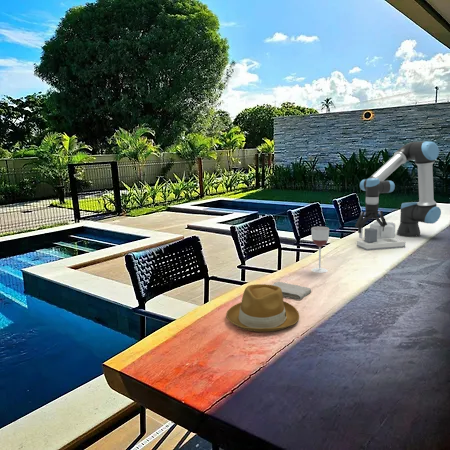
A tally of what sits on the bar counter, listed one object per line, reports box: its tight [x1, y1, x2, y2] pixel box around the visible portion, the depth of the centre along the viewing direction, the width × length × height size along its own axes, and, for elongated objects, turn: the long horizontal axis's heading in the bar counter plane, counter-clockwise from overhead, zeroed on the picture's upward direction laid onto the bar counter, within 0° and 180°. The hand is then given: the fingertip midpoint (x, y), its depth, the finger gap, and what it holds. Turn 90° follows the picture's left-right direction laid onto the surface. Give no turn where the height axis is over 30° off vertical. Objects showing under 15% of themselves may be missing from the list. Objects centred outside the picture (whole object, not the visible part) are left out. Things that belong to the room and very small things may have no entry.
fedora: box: [225, 283, 300, 333], centre depth 147 cm, size 27×29×12 cm
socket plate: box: [356, 237, 406, 251], centre depth 250 cm, size 26×12×4 cm, turn 101°
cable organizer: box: [369, 220, 396, 239], centre depth 268 cm, size 15×11×12 cm
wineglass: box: [310, 226, 330, 274], centre depth 203 cm, size 9×10×22 cm
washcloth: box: [272, 281, 312, 301], centre depth 174 cm, size 12×18×3 cm, turn 54°
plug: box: [363, 227, 377, 243], centre depth 249 cm, size 5×6×10 cm
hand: (370, 237), depth 249 cm, fingers open, 13 cm apart
